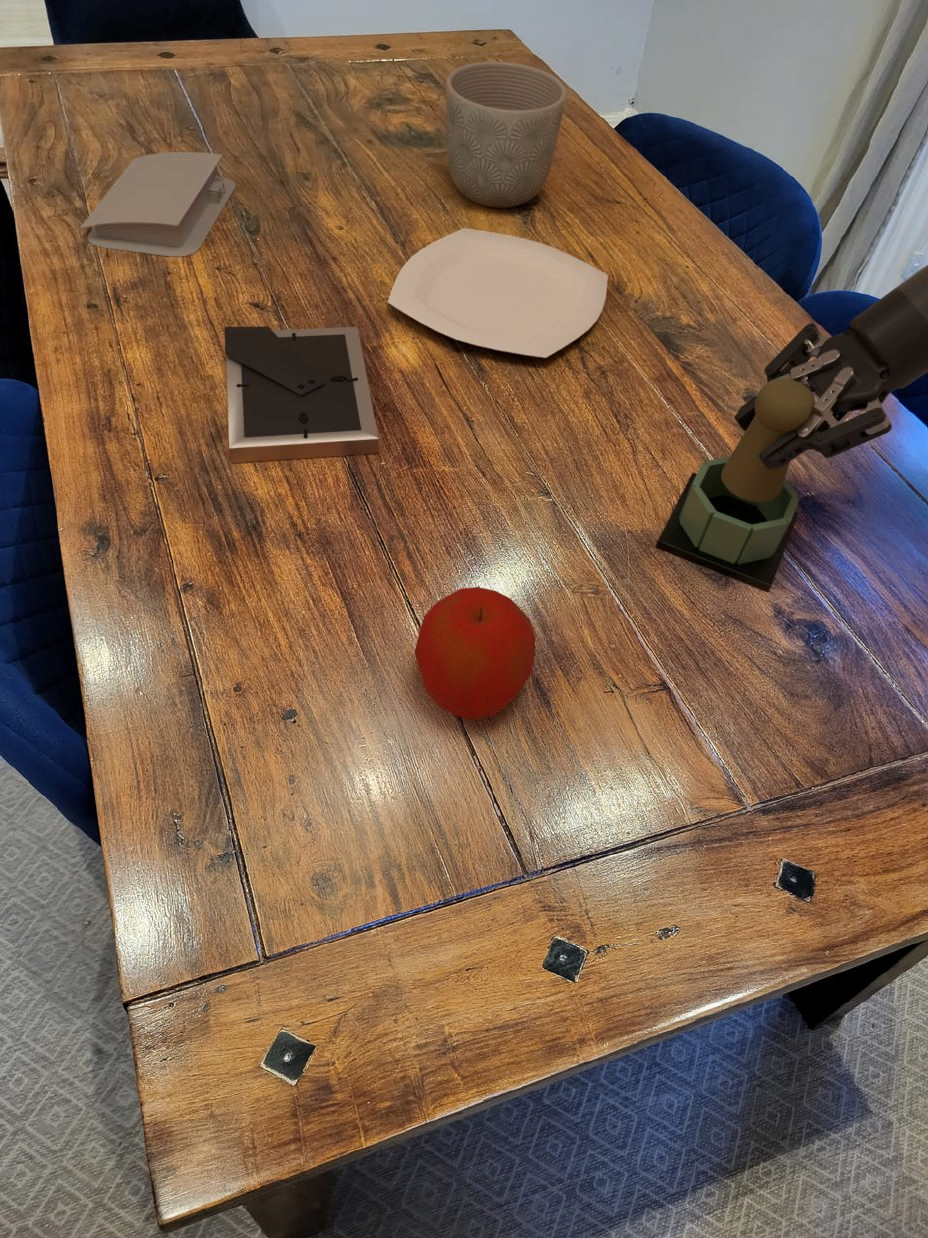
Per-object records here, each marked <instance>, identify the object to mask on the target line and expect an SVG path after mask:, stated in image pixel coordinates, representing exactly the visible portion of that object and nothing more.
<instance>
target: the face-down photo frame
mask: <svg viewBox="0 0 928 1238" xmlns="http://www.w3.org/2000/svg"><path fill="white" fill-rule="evenodd" d="M224 353H225V363H226V364H225V365H226V366H225V368H226V369H225V370H226V396H227V397H226V398H227V427H228V428H227V429H228V450H229V456H230V461H231V464H242V463H255V462H271V461H272V462H273V461H285V460H299V459H301V460H302V459H314V458H315V459H317V458H331V457H344V456H345V457H346V456H358V455H359V456H361V455H373V454H380V438H379V433H378V428H377V421H376V417H375V411H374V406H373V403H372V402H373V401H372V395H371V390H370V385H369V379H368V375H367V368H366V364H365V358H364V353H363V348H362V343H361V337H360V332H359V326H342V327H341V326H340V327H318V328H299V329H298V328H297V329H274V330H273V329H271V328H270V327H269V326H267V325H265V326H263V325H259V326H258V325H257V326H255V325H254V326H224Z"/></svg>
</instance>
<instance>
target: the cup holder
mask: <svg viewBox="0 0 928 1238" xmlns="http://www.w3.org/2000/svg"><path fill="white" fill-rule="evenodd" d="M729 458H730V456H723V457H720V458H719V457H718V458H714V459H707V460H705V461H704V462H702V463H701V465H700V467H699V469H698V471H697V472H692V473H691V474H690V476H689V479H688V480H687V482H686V485H685V486H684V488H683V490H682V491H681V492H682V493H681V494H680V497H679V498H678V500H677V502H676V505H675V506H674V508H673V510H672V512H671V514H670V516H669V518H668V520H667V522H666V524H665V526H664V528H663V529H662V532H661V534H660V536H659V537H658V539H657V542H656V545H655V548H657V549H660V550H662V551H664V552H667V553H670V554H672V555H675V556H677V557H680V558H682V559H684V560H686V561H690V562H692V563H694V564H697V565H700V566H702V567H704V568H707V569H709V570H712V571H715V572H717V573H719V574H722V575H725V576H727V577H729V578H732V579H734V580H737V581H740V582H742V583H744V584H747V585H750V586H752V587H754V588H757V589H759V590H762V591H764V592H766V593H767V592H769V591H770V590H771V588H772V586H773V582H774V580H775V578H776V575H777V573H778V569H779V567H780V564H781V562H782V559H783V556H784V554H785V551H786V548H787V545H788V543H789V539H791V538H790V537H791V535H792V532H793V530H794V526H795V524H796V521H797V519H798V516H799V514H800V512H799V511H797V510H796V508H797V506H798V504H799V502H800V498H799V494H798V493H797V491H796V490H795V489H794V488H793V486H792V485H791V484H790V483H789V481H788V480H787V478H785V480H784V483H783V487H782V490H781V492H780V494H779V495H778V496H777V497H776V498H775V499H773V500H770V501H767V502H754V501H748V500H745V499H742V498H740V497H738V496H736V495H735V494H733V493H731V492H730V491H729V490H728V489H727V488H726V487H725V485H724V483H723V481H722V478H721V472H722V470H723V468H724V466H725V464H726V463H727V461H728V459H729Z"/></svg>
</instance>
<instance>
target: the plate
mask: <svg viewBox="0 0 928 1238" xmlns="http://www.w3.org/2000/svg"><path fill="white" fill-rule="evenodd" d="M608 277H609V274H607V273H606V272H604V271H602V270H600V269H598V268H597V267H595V266H593V265H591V264H589V263H587V262H585V261H584V260H581V259H580V258H577V257H576V256H574V255H571V254H569V253H567V252H565V251H562V250H560V249H558V248H556V247H553V246H551V245H548V244H546V243H542V242H539V241H535V240H532V239H528V238H524V237H519V236H514V235H510V234H504V233H499V232H492V231H487V230H482V229H481V230H480V229H474V228H467V227H462V228H461V229H459V230H456V231H453V232H452V233H449V234H448V235H447V234H446V236H443V237H441V238H439V239H437V240H435V241H433V242H431V243H429V244H427V245H426V246H425V247H423V248H421V249H420V250H418V251H417V252H416V253H415V254H413V255H412V256H411V257H410V258H408V259H407V261H406V262H405V264H404V265H403V266H402V267H401V269H400V270H399V272H398V274H397V276H396V278H395V279H394V280H395V281H394V283H393V286H392V288H391V291H390V294H389V297H388V299H387V305H390V306H391V307H393V308H394V309H395V310H397V311H399V312H400V313H402V314H403V315H405V316H407V317H408V318H410V319H412V320H413V321H415V322H417V323H419V324H420V325H422V326H424V327H426V328H428V329H429V330H431V331H433V332H436V333H438V334H440V335H441V336H442V335H443V336H445V337H447V338H449V339H452V340H454V341H457V342H459V343H462V344H463V343H464V344H467V345H471V346H474V347H478V348H482V349H487V350H491V351H495V352H500V353H505V354H513V355H518V356H522V357H529V358H535V359H536V358H537V359H544V360H546V359H547V358H549V357H551V356H553V355H554V354H556V353H557V352H559V351H561V350H562V349H564V348H566V347H568V346H569V345H571V344H572V343H573V342H575V341H577V340H578V339H580V338H581V336H583V335H584V334H586V333H587V332H588V331H589V330H590V329H591V328H592V326H594V325H595V323H596V322H597V321H598V319H599V317H600V316H601V314H602V313H603V310H604V306H605V304H606V300H607V291H608V281H609V280H608V279H609V278H608Z"/></svg>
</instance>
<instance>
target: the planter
mask: <svg viewBox="0 0 928 1238" xmlns="http://www.w3.org/2000/svg"><path fill="white" fill-rule="evenodd" d="M445 85H446V86H445V90H446V91H445V92H446V93H445V95H446V97H445V99H446V100H445V101H446V102H445V105H446V157H447V165H448V170H449V173H450V176H451V178H452V181H453V183H454V185H455V187H456V188H457V189H458V191H460V193H461V194H462V195H463V196H464V197H466V198H467V199H469V200H471V201H472V202H473V203H476V204H479V205H481V206H484V207H489V208H496V209H506V208H513V207H518V206H521V205H524V204H525V203H527V202H529V201H530V200H532V199H534V197H536V195H538V194H539V192H541V190H542V188H543V187H544V186H545V184H546V182H547V179H548V177H549V175H550V172H551V169H552V164H553V161H554V155H555V151H556V146H557V144H558V143H557V142H558V137H559V132H560V128H561V124H562V119H563V116H564V115H563V114H564V111H565V106H566V101H567V95H568V93H567V89H566V86H565V85H564V83H563V82H562V81H561V80H560V79H559V78H557V77H556V76H554V75H553V74H551V73H549V72H547V71H545V70H543V69H540V68H537V67H534V66H530V65H527V64H522V63H517V62H508V61H480V62H473V63H469V64H465V65H462V66H460V67H458V68H456V69H454V70H453V71H451V72H450V73H449V74H448V76H447V78H446V81H445Z"/></svg>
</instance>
